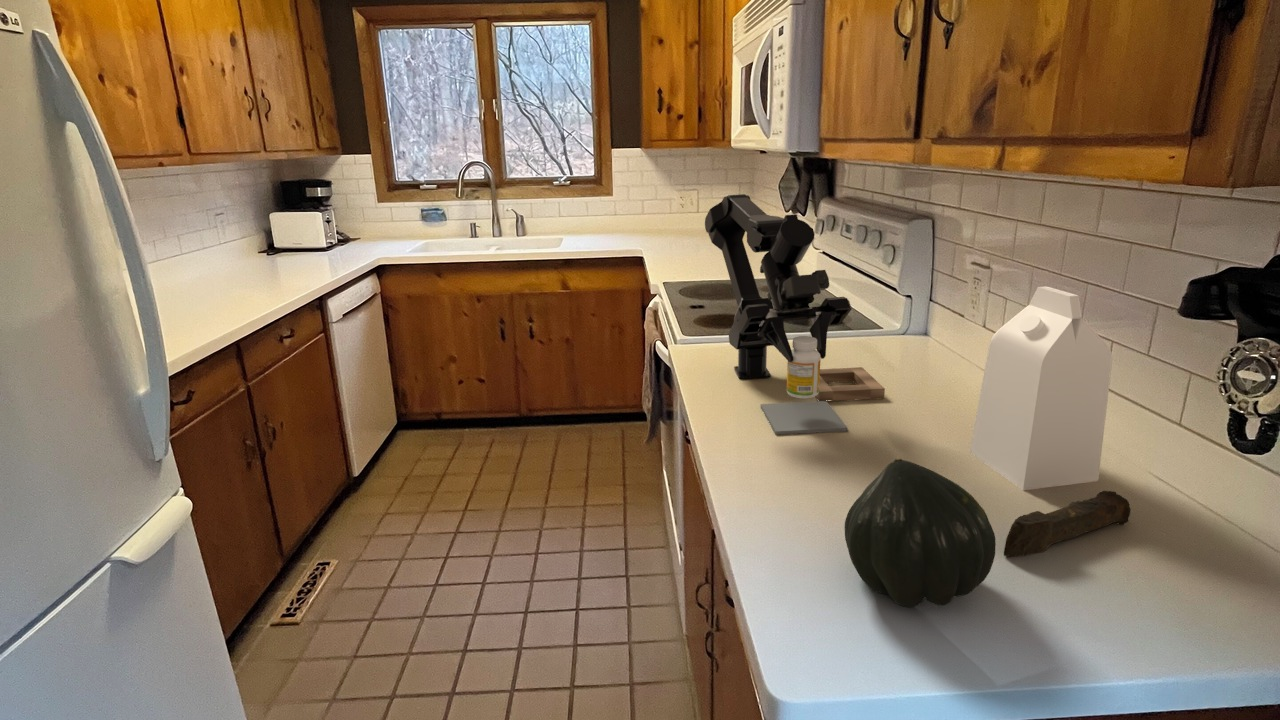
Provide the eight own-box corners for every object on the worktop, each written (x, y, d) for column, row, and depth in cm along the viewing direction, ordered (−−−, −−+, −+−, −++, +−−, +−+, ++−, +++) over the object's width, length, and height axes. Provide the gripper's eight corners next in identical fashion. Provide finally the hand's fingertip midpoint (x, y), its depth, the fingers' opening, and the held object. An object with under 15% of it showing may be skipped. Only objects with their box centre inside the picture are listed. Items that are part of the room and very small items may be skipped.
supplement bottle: (801, 385, 123) (804, 332, 119) (825, 394, 118) (828, 339, 115) (779, 392, 120) (781, 338, 117) (803, 401, 116) (806, 346, 112)
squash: (1039, 592, 66) (990, 441, 72) (886, 611, 65) (849, 456, 71) (972, 603, 79) (935, 474, 85) (843, 618, 78) (815, 487, 84)
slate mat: (760, 407, 126) (760, 404, 126) (826, 403, 126) (826, 400, 126) (775, 434, 114) (775, 431, 114) (847, 431, 115) (847, 427, 115)
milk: (1098, 480, 96) (1132, 297, 88) (1022, 490, 95) (1051, 304, 86) (1037, 444, 108) (1063, 279, 99) (969, 452, 106) (989, 285, 98)
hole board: (801, 379, 138) (802, 370, 138) (861, 376, 139) (862, 367, 138) (819, 402, 127) (819, 391, 126) (883, 398, 127) (884, 388, 127)
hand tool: (1098, 512, 89) (1104, 480, 88) (1129, 527, 86) (1135, 494, 84) (984, 547, 83) (989, 513, 82) (1012, 565, 79) (1017, 530, 78)
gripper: (744, 258, 113) (768, 342, 107) (850, 249, 117) (879, 331, 110) (728, 294, 123) (749, 373, 117) (826, 285, 127) (851, 362, 120)
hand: (807, 359), depth 116 cm, fingers closed on supplement bottle, 5 cm apart
